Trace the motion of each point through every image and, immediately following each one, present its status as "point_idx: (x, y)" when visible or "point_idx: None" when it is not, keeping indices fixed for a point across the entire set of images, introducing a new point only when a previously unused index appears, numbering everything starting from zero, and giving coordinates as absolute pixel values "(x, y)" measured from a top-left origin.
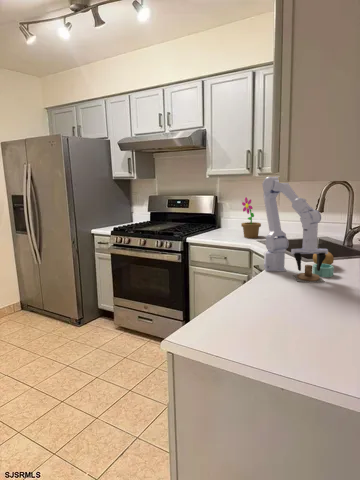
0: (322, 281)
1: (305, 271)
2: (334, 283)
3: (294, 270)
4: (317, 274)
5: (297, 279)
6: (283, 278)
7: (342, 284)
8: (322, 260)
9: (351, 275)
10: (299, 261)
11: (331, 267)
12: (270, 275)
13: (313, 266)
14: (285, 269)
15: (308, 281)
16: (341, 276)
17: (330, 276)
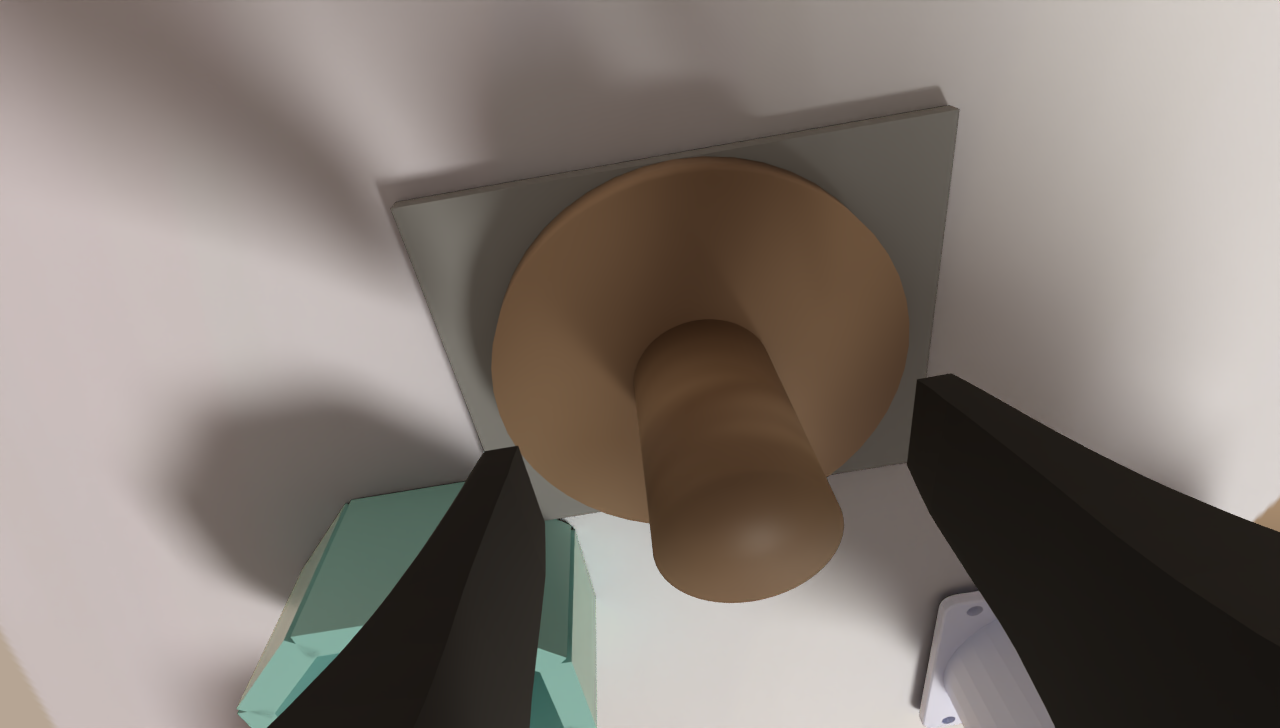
0: (435, 201)
1: (791, 404)
2: (191, 167)
3: (815, 647)
4: None
5: (918, 224)
6: (1124, 286)
7: (9, 128)
8: (314, 704)
9: (55, 622)
10: (1185, 533)
11: (266, 677)
12: (1263, 398)
13: (589, 689)
14: (947, 634)
15: (719, 151)
16: (177, 561)
17: (333, 523)
